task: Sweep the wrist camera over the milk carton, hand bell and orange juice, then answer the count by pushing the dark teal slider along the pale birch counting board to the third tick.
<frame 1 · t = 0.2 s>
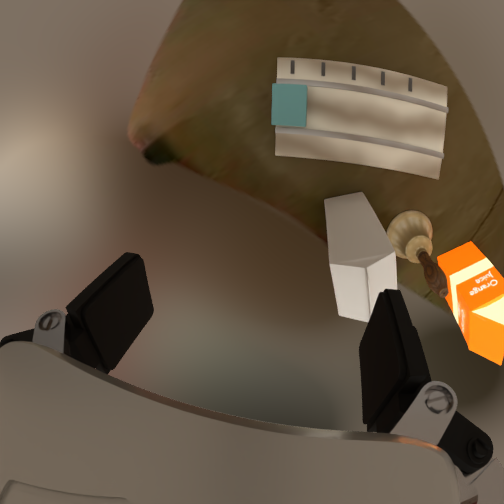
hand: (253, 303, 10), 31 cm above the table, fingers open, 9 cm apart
milk: (346, 213, 39), on the table
hand bell: (409, 234, 38), on the table
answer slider: (290, 105, 30), point 4 cm above the table, slide at 0.0 cm
count board: (364, 114, 32), on the table
orange juice: (456, 268, 39), on the table
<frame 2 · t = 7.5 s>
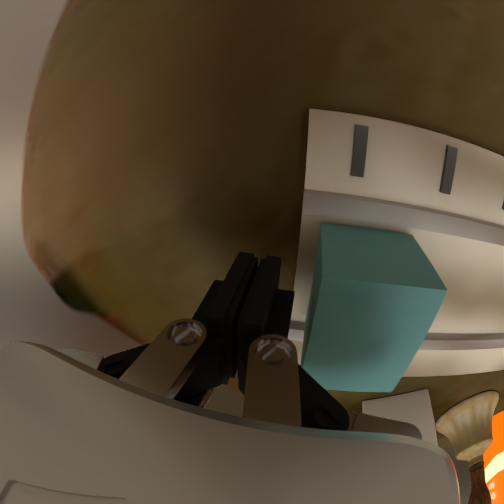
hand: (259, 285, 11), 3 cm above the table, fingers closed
milk: (392, 409, 19), on the table
hand bell: (467, 410, 18), on the table
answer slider: (361, 310, 10), point 4 cm above the table, slide at 0.8 cm, touching gripper
count board: (484, 274, 12), on the table
orange juice: (503, 418, 19), on the table
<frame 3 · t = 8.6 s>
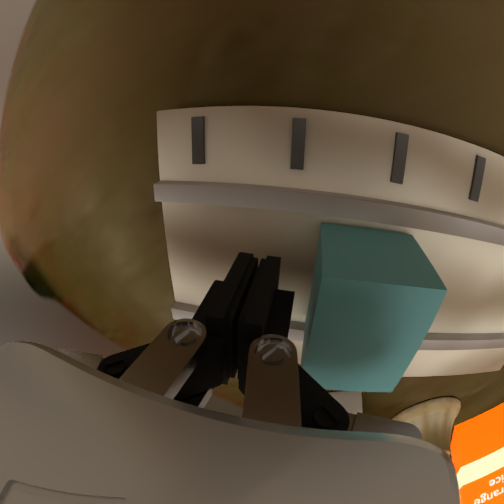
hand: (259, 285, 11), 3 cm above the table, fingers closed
milk: (328, 407, 20), on the table
hand bell: (424, 416, 20), on the table
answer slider: (361, 310, 10), point 4 cm above the table, slide at 7.1 cm, touching gripper
count board: (401, 263, 13), on the table
orange juice: (476, 425, 20), on the table
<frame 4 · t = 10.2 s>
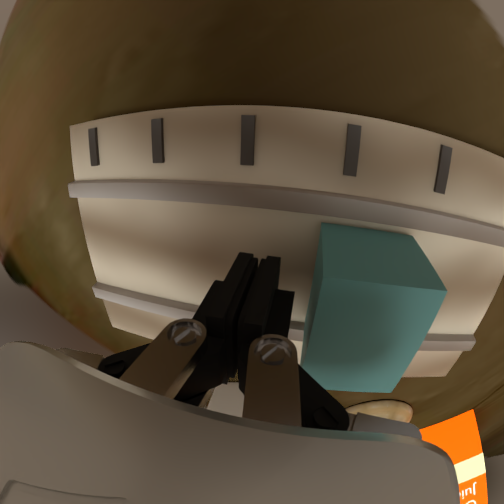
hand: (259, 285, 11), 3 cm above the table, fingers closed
milk: (260, 398, 22), on the table
hand bell: (371, 418, 21), on the table
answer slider: (361, 311, 10), point 4 cm above the table, slide at 13.1 cm, touching gripper
count board: (292, 250, 14), on the table
orange juice: (441, 432, 21), on the table
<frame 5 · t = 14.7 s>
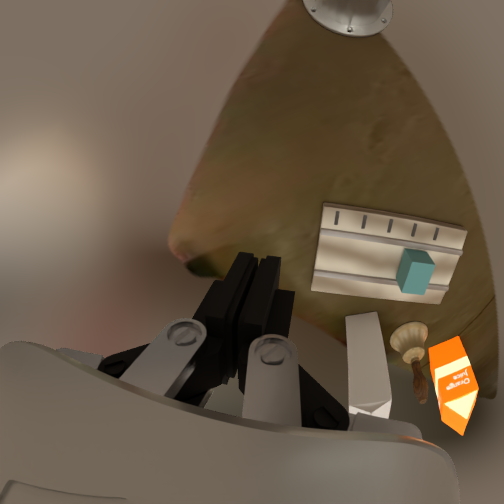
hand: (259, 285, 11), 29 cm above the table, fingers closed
milk: (361, 324, 47), on the table
hand bell: (408, 335, 46), on the table
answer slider: (414, 271, 35), point 4 cm above the table, slide at 13.2 cm
count board: (390, 255, 39), on the table
orange juice: (443, 353, 46), on the table
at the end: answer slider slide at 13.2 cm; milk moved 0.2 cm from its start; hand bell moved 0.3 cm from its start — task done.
